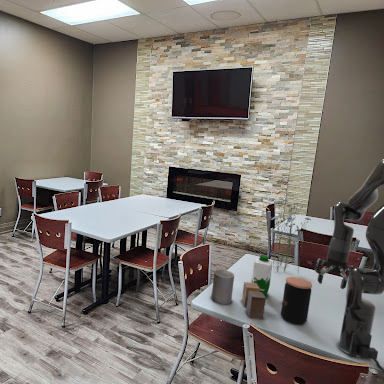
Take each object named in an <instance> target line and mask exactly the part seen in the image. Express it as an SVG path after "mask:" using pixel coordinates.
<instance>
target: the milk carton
mask: <svg viewBox="0 0 384 384" xmlns="http://www.w3.org/2000/svg"><path fill="white" fill-rule="evenodd" d="M252 267H253V269H252V275H251V283H257V285H258V286H259V288H260V291H259V292H262V293H263V294H264V296H265V298H266V299H267V296H268V293H269V289H270V286H271V281H272V280H271V279H272V270H273V260H271V259H269V256H268V255H264V254H261V255H259V257H256V258H255V260H254V262H253V266H252Z"/></svg>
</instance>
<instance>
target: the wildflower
mask: <svg viewBox="0 0 384 384" xmlns="http://www.w3.org/2000/svg"><path fill="white" fill-rule="evenodd" d="M280 201H281V199H279V200H277V201H276V204H278V209H279V212H280V213H278V217H279V219H280V220H276V216H274V217H272V218H271V219H270V220H271V221H273V220H275V225H276V226H277V231H276V235H277V236H276V238H275V239H276V242H278V244H275V248H277V246H278V248H277V249H278V250H280V249H281V248H282V251H277V250H274V251H275V252H274V254H273V260H272V266H274V264H275V263H276V265H275V270H276V272H277V273H278V272H279V268H280V267H282V264H284V266H283V271H284V272H286V269H287V266H289V261H290V259H289V258H290V257H289V255H290V250H291V249H290V248H291V245H292V240H291V239H292V238H293V237H294V234H296V233H297V232H299V230H300V229H299V225H297V224H296V223H293V222H294V221H295V220H296V216H297V215H298V214H299V213H300V211H301V210H302V209H303V207H304V206H303V205H301V206H299V208H300V209H297V210H296V206H298V205H299V202H297V203H293V205H292V203H289V204H287V203H288V202H289V200H288V199H287V198H285V200H284V199H283V200H282V202H281V203H280ZM284 201H285V202H284ZM283 202H284V205H283ZM286 204H287V205H286ZM285 206H287V207H288V208H289V209H288V212H289V216H287V217H286V219H285V216H283V220H282V216H281V215H282V214H283V210H284V209H285ZM281 207H282V208H281ZM280 208H281V209H280ZM292 215H293V216H292ZM304 219H305V220H304V221H303V222H300V225H301V227H302V230H301V233H302V235H301V241H300V242H301V243H300V252H299V253H300V254H299V255H302V250H303V246H302V245H303V236H304V233H305V232H304V231H305V230H306V228H307V226H306V225H304V224H308V223H309V221H312V219H311V218H310V217H305V218H304ZM306 220H307V221H306ZM282 223H283V224H282ZM280 224H281V227H280ZM295 225H296V226H295ZM293 226H295V227H296V228H295V229H294V233H292V232H293V231H292V230H293ZM280 228H281V229H280ZM286 228H287V230H286ZM280 230H281V231H280ZM283 231H284V233H286V232H287V233H286V238H285V235H281V234H282V233H283ZM280 235H281V236H280ZM282 237H283V239H284V241H282V243H284V244H281V240H280V239H281V238H282ZM287 244H288V246H287V247H286V245H287ZM285 249H286V250H287V253H286V252H285ZM280 254H281V256H280ZM285 255H286V256H285ZM276 256H277V259H276ZM284 258H285V261H284ZM283 261H284V262H283ZM300 264H301V259H299V261H298V265H297V270H296V271H297V274H299V272H300V270H299V269H300Z"/></svg>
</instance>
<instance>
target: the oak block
mask: <svg viewBox="0 0 384 384" xmlns="http://www.w3.org/2000/svg"><path fill="white" fill-rule="evenodd" d="M249 291H255V292H259V291H260V288H259V286H258V285H257V283H252V282H249V281H243V287H242V295H241V302H242V305H243V307H245V308H247V301H248V293H249Z"/></svg>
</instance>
